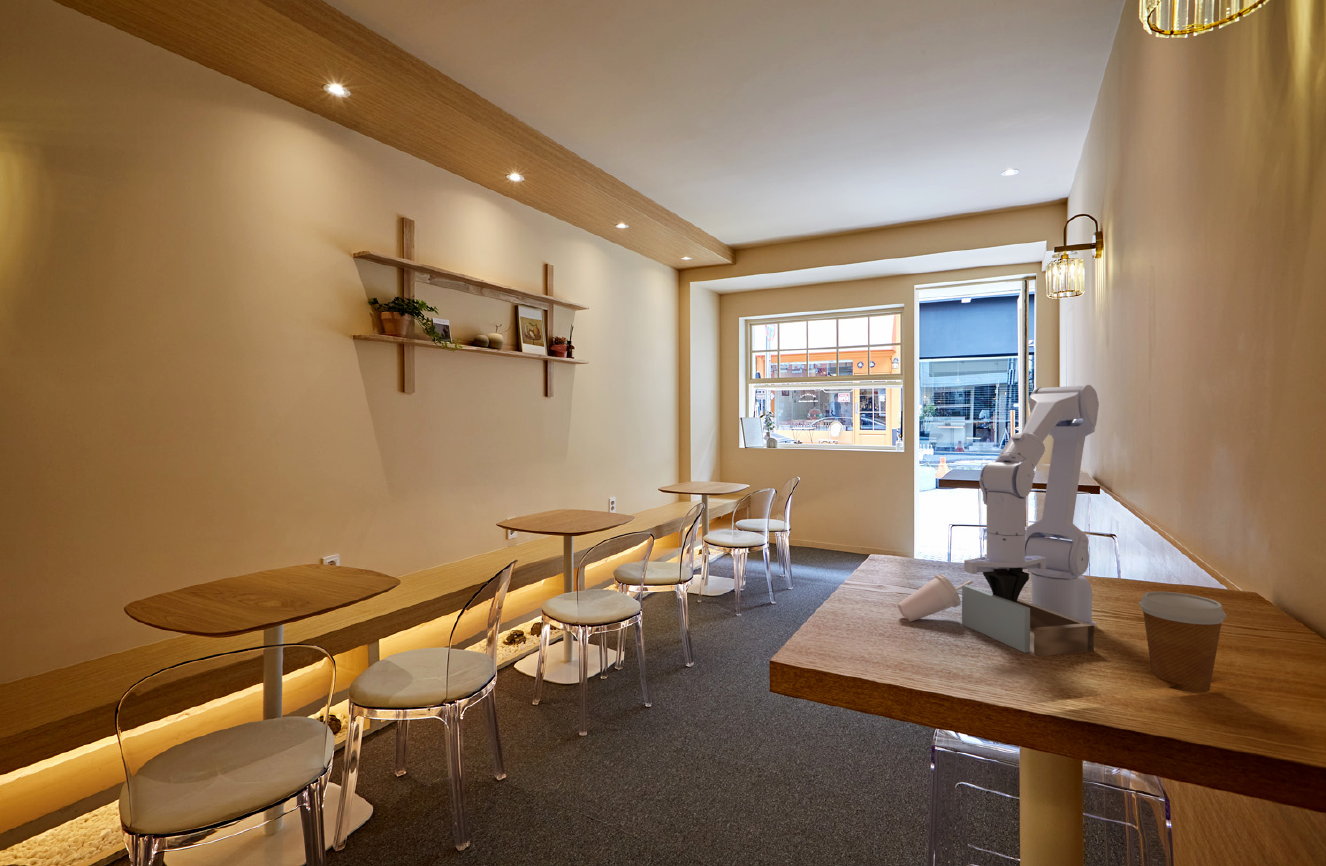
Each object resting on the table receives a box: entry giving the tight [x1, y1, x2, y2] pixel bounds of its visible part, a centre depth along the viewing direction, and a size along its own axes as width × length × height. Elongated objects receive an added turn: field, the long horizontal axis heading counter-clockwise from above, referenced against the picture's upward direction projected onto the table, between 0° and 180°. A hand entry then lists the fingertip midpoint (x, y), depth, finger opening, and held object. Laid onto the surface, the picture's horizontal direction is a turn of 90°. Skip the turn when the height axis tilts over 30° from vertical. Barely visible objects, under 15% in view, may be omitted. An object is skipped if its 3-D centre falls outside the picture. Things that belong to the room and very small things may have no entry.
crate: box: [1016, 598, 1095, 657], centre depth 106 cm, size 10×18×5 cm, turn 12°
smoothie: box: [897, 573, 974, 622], centre depth 115 cm, size 6×6×14 cm
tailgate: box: [961, 584, 1031, 654], centre depth 105 cm, size 1×14×7 cm, turn 12°
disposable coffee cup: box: [1138, 591, 1227, 694], centre depth 88 cm, size 10×10×12 cm
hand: (1005, 612), depth 106 cm, fingers closed
